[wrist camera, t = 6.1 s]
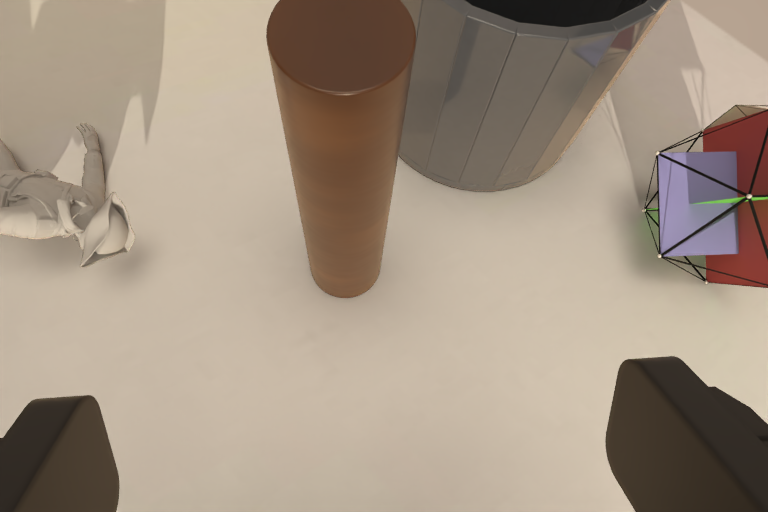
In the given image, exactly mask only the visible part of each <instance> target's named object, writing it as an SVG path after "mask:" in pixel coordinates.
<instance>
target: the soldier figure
mask: <svg viewBox="0 0 768 512" xmlns="http://www.w3.org/2000/svg"><path fill="white" fill-rule="evenodd" d="M80 125H81V126H82V127H83V128H84V130H85V131H84V130H83V129H82V128H80V127H79V126H77V129H78V130H79V131H80V132H81V133H82V135H83V138H84V144H85V147H86V148H87V150H88V151H87V154H85V158H84V173H83V177H82V187H80V186H75V185H73V184H71V183H66V182H62V181H58V180H57V179H58V177H56V176H55V175H53V174H51V173H50V172H47V171H41V170H36V172H34V173H28V172H24V171H21V170H20V169H19V167H18V165H17V164H16V162H15V160H14V157H13V155H12V154H11V152H10V151H9V150H8V148H7V147H6V146H5V144H4V143H3V142H2V140H1V139H0V234H3V235H9V236H16V237H19V238H29V239H44V238H51V237H55V236H62V237H63V238H66V237H69V236H70V235H71V234H73V235H74V234H76V235H77V237H78V239H79V244H80V246H81V247H80V246H79V247H80V248H82V249H83V257H82V260H81V264H80V267H81V268H84V267H88V266H90V265H92V264H94V263H96V262H98V261H100V260H104V259H107V258H110V257H113V256H115V255H117V254H120V253H123V252H128V251H130V248H131V246H132V244H133V243H134V240H135V234H134V232H133V230H132V228H131V225H130V222H129V216H128V213H127V210H126V208H125V206H124V205H123V203H122V202H121V201H120V199H119V198H118V196H117V194H116V193H115V192H112V193H111V194H110V196H109V197H108V199H107V200H106V202H105V196H104V194H105V182H104V171H103V162H102V155H101V154H100V152H99V151H100V147H99V143H98V136H97V133H96V131H95V129H94V128H93V127H92V126H91V125H88V124H87V123H84V124H82V123H80ZM82 231H84V232H83V233H80V232H82ZM73 238H74V237H73ZM74 240H75V239H74ZM75 241H77V240H75ZM77 244H78V242H77Z"/></svg>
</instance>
